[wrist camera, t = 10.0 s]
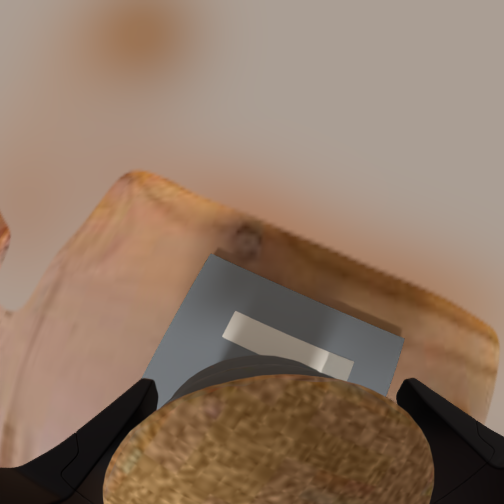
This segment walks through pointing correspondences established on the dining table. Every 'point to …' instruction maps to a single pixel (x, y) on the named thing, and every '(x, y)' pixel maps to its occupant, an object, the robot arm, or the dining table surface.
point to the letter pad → (267, 332)
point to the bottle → (272, 442)
